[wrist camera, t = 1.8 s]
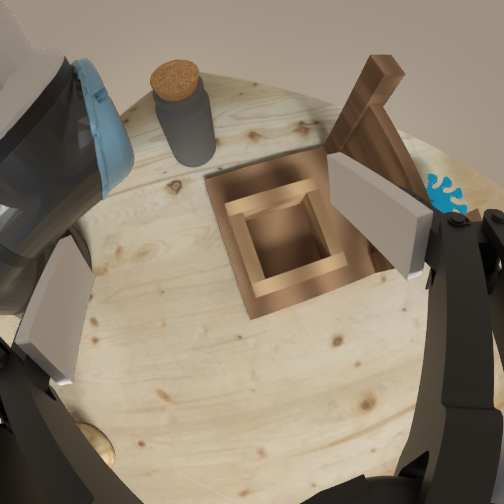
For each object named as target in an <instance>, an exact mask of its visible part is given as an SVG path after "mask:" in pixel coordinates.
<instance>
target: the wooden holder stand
mask: <svg viewBox="0 0 504 504" xmlns="http://www.w3.org/2000/svg"><path fill="white" fill-rule="evenodd" d="M404 75H405V73H404V72H403V70H402V69H401V67H400V66H399V65H398V63H397V62H396V61H395V60H394V58H393V57H392V56H391V55H370V56H369V58H368V60H367V62H366V64H365V66H364V68H363V70H362V72H361V74H360V76H359V78H358V80H357V82H356V84H355V86H354V88H353V90H352V92H351V94H350V96H349V98H348V100H347V102H346V104H345V106H344V108H343V110H342V112H341V114H340V116H339V118H338V119H337V121H336V123H335V125H334V127H333V129H332V131H331V133H330V135H329V137H328V139H327V141H326V143H325V145H324V147H320V148H316V149H312V150H308V151H304V152H300V153H296V154H292V155H288V156H284V157H280V158H276V159H273V160H269V161H265V162H262V163H258V164H254V165H251V166H247V167H244V168H241V169H237V170H234V171H231V172H227V173H224V174H221V175H218V176H214V177H211V178H208V179H205V184H206V187H207V190H208V193H209V196H210V199H211V203H212V206H213V209H214V212H215V215H216V218H217V221H218V224H219V227H220V230H221V234H222V237H223V240H224V243H225V246H226V249H227V252H228V255H229V258H230V261H231V264H232V267H233V270H234V273H235V276H236V279H237V282H238V285H239V288H240V291H241V294H242V297H243V299H244V302H245V305H246V308H247V311H248V314H249V317H250V320H252V319H255V318H258V317H261V316H264V315H267V314H270V313H273V312H276V311H278V310H281V309H284V308H287V307H290V306H292V305H295V304H298V303H300V302H303V301H306V300H309V299H311V298H314V297H316V296H319V295H322V294H324V293H327V292H330V291H332V290H335V289H337V288H340V287H342V286H345V285H347V284H350V283H352V282H355V281H357V280H360V279H362V278H364V277H367V276H369V275H372V274H374V273H377V272H382V271H386V270H390V269H394V268H395V267H394V266H393V265H392V264H391V263H390V262H389V261H388V260H387V259H386V258H385V257H384V255H383V254H382V253H381V252H380V251H379V250H378V249H377V248H376V247H375V246H374V245H373V244H372V243H371V242H370V241H369V240H368V239H367V238H366V237H365V236H364V235H363V234H362V233H361V232H360V231H359V230H358V229H357V228H356V227H355V226H354V225H353V224H352V223H351V222H350V221H349V220H348V219H347V218H346V217H344V216H343V215H342V214H341V213H340V212H339V211H338V210H337V209H336V208H335V207H334V206H333V205H332V204H331V198H330V184H329V173H328V162H327V155H329V154H333V153H338V152H341V153H343V154H345V155H346V156H348V157H350V158H352V159H353V160H355V161H357V162H359V163H360V164H362V165H364V166H365V167H367V168H369V169H370V170H372V171H374V172H375V173H377V174H378V175H380V176H382V177H383V178H385V179H386V180H388V181H389V182H391V183H393V184H394V185H396V186H398V185H399V186H401V187H404V188H407V189H409V190H411V191H412V192H414V193H415V194H417V196H420V197H421V198H423V200H426V201H427V202H429V203H430V204H431V205H432V203H431V200H430V198H429V196H428V193H427V191H426V189H425V186H424V184H423V182H422V180H421V178H420V175H419V173H418V171H417V169H416V167H415V165H414V163H413V161H412V159H411V157H410V155H409V153H408V151H407V149H406V147H405V145H404V143H403V141H402V139H401V138H400V136H399V134H398V132H397V130H396V128H395V127H394V125H393V123H392V121H391V120H390V118H389V117H388V115H387V113H386V111H385V110H384V108H383V106H384V105H385V103H386V102H387V100H388V99H389V97H390V96H391V95H392V93H393V92H394V90H395V88H396V87H397V86H398V84H399V83H400V81H401V80H402V78H403V77H404ZM464 215H465V216H466V217H468V218H469V219H470V220H471V222H477V221H482V218H481V216H480V213H479V210H478V208H477V209H475V210H473V211H470V212H468V213H466V214H464Z"/></svg>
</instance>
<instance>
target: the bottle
mask: <svg viewBox="0 0 504 504" xmlns="http://www.w3.org/2000/svg"><path fill="white" fill-rule="evenodd" d="M150 84H151V87H152V88H153V97H154V100H155V102H156V106H155V109H156V114H157V117H158V119H159V122H160V124H161V126H162V129H163V131H164V133H165V136H166V138H167V140H168V143H169V145H170V147H171V150H172V152H173V154H174V156H175V158H176V159H177V161H178V162H179V163H181V164H182V165H184V166H188V167H197V166H201V165H203V164H205V163H207V162H208V161H209V160H210V159H211V158H212V157H213V155H214V153H215V149H216V143H215V136H214V128H213V122H212V115H211V108H210V102H209V97H208V94H207V92H206V91H205V90H204V86H203V81H202V79H201V77H200V76H199V70H198V68H197V66H196V65H195V64H194V63H192V62H190V61H187V60H174V61H170V62H167V63H165V64H163V65H161V66H160V67H158V68H157V69H156V70H155V71H154V72H153V74H152V76H151V79H150Z"/></svg>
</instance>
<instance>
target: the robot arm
mask: <svg viewBox="0 0 504 504" xmlns="http://www.w3.org/2000/svg"><path fill="white" fill-rule="evenodd" d="M327 162H328V173H329V184H330V198H331V204H332V205H333V206H334V207H335V208H336V209H337V210H338V211H339V212H340V213H341V214H342V215H343V216H344V217H346V218H347V219H348V220H349V221H350V222H351V223H352V224H353V225H354V226H355V227H356V228H357V229H358V230H359V231H360V232H361V233H362V234H363V235H364V236H365V237H366V238H367V239H368V240H369V241H370V242H371V243H372V244H373V245H374V246H375V247H376V248H377V249H378V250H379V251H380V252H381V253H382V254H383V255H384V257H385V258H386V259H387V260H388V261H389V262H390V263H391V264H392V265H393V266H394V267H395V268H396V269H397V270H398V271H399V272H400V274H401V275H402V276H403V277H404V278H405V279H406V280H407V281H408V280H410V279H413V278H415V277H417V276H419V275H421V274H422V272H423V267H424V263H425V262H426V263H427V264H428V265H429V266H430V267H431V269H430V273H429V277H428V281H427V284H426V288H425V289H427V290H428V288H429V298H428V317H427V331H426V341H425V351H424V359H423V367H422V374H421V380H420V386H419V392H418V397H417V403H416V408H415V413H414V417H413V422H412V426H411V430H410V434H409V438H408V440H407V443H406V445H405V447H404V449H403V451H402V453H401V456H400V458H399V461H398V464H397V467H396V471H395V474H394V476H376V477H369V478H365V476H364V474H363V475H360V476H358V477H356V478H354V479H351V480H349V481H346V482H344V483H342V484H339V485H337V486H334V487H331V488H329V489H326V490H323V491H320V492H319V493H317V494H316V495H314V496H312V497H311V498H309V499H307V500H306V501H304V502H302V503H300V504H494V503H490V501H491V497H492V493H493V488H494V484H495V480H496V475H497V469H498V464H499V458H500V451H501V443H502V434H503V416H502V413H501V411H500V410H498V409H496V408H495V407H494V402H493V397H494V353H493V336H492V331H493V334H494V337H495V341H496V344H497V348H498V351H499V355H500V359H501V363H502V367H503V371H504V213H503V212H502V211H500V210H497V209H487V210H486V211H484V216H483V220H482V221H477V222H471V220H470V219H469V218H468V217H466V216H465V215H463V214H460V213H457V212H446V213H443V212H441V211H440V210H439V209H437V208H436V207H434V206H433V205H431V204H430V203H429V202H427V201H426V200H423V198H421V197H420V196H417V194H415V193H414V192H412V191H411V190H409V189H407V188H404V187H401V186H399V185H398V186H396V185H394V184H393V183H391V182H389V181H388V180H386V179H385V178H383V177H382V176H380V175H378V174H377V173H375V172H374V171H372V170H370V169H369V168H367V167H365V166H364V165H362V164H360V163H359V162H357V161H355V160H353V159H352V158H350V157H348V156H346V155H345V154H343V153H341V152H338V153H333V154H329V155H327ZM133 165H134V153H133V148H132V145H131V143H130V140H129V137H128V135H127V132H126V130H125V128H124V125H123V123H122V121H121V119H120V116H119V114H118V112H117V110H116V108H115V106H114V104H113V102H112V100H111V98H110V97H109V96H108V93H107V91H106V89H105V87H104V84H103V81H102V79H101V77H100V76H99V74H98V72H97V70H96V69H95V67H94V65H93V64H92V63H91V62H90V61H89V60H88V59H87V58H83V59H80V60H75V61H74V62H73V63H72V64H71V65H70V64H69V62H68V60H67V59H66V57H65V56H64V54H63V53H62V51H61V50H57V49H37V48H35V47H34V46H33V45H32V43H31V42H30V40H29V39H28V37H27V36H26V34H25V33H24V31H23V29H22V28H21V26H20V24H19V23H18V21H17V20H16V18H15V16H14V15H13V13H12V11H11V10H10V8H9V6H8V5H7V3H6V1H5V0H0V315H14V316H16V317H18V318H20V319H22V320H21V321H20V324H19V327H18V329H17V332H16V335H15V338H14V340H13V343H12V346H11V348H10V347H9V346H8V345H7V343H6V342H5V341H4V340H3V339H2V338H1V337H0V418H1V422H2V423H1V424H0V504H144V503H143V502H142V501H141V500H140V499H139V498H138V497H137V496H136V495H135V494H134V493H133V492H132V491H131V490H130V489H129V488H128V487H127V486H126V485H125V484H124V483H123V482H122V481H121V480H120V479H119V477H118V476H117V475H116V474H115V473H114V472H113V471H112V469H111V468H110V467H109V466H108V465H107V464H106V462H105V461H104V460H103V459H102V458H101V456H100V455H99V454H98V453H97V451H96V450H95V449H94V447H93V446H92V445H91V444H90V442H89V441H88V440H87V438H86V437H85V435H84V434H83V433H82V431H81V430H80V429H79V427H78V426H77V424H76V423H75V421H74V420H73V418H72V417H71V415H70V414H69V412H68V411H67V409H66V408H65V406H64V405H63V403H62V401H61V400H60V398H59V397H58V395H57V393H56V392H55V390H54V389H53V388H52V387H51V386H50V385H49V380H50V377H51V378H52V379H53V380H54V381H55V382H56V383H57V384H58V385H65V384H71V383H73V381H74V374H75V367H76V361H77V355H78V350H79V344H80V339H81V334H82V329H83V324H84V320H85V315H86V311H87V307H88V303H89V298H90V295H91V291H92V287H93V283H94V279H95V276H94V274H93V273H92V271H91V260H90V255H89V251H88V248H87V245H86V243H85V241H84V239H83V237H82V236H81V234H80V233H79V232H78V231H77V230H76V229H75V228H74V227H73V226H71V225H72V224H74V223H75V222H76V221H77V220H78V219H79V218H80V217H82V216H83V215H84V214H85V213H86V212H87V211H89V210H90V209H91V208H92V207H93V206H95V205H96V204H97V203H98V202H99V201H101V200H104V199H105V198H106V197H107V195H108V193H109V192H110V191H111V190H112V189H113V188H114V187H115V186H116V185H118V184H119V183H120V182H121V181H122V180H123V179H125V178H126V177H127V176H128V175H129V173H130V171H131V169H132V167H133ZM500 260H501V264H502V268H501V269H500V267H499V263H500Z"/></svg>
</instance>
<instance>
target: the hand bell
mask: <svg viewBox="0 0 504 504" xmlns="http://www.w3.org/2000/svg"><path fill="white" fill-rule="evenodd" d="M77 426H78V427H79V429H80V430H81V431H82V433H83V434H84V435H85V437H86V438H87V440H88V441H89V442H90V444H91V445H92V446H93V447H94V449H95V450H96V451H97V453H98V454H99V455H100V456H101V458H102V459H103V460H104V461H105V462H106V464H107V465H108V466H109V467H110V468H111V467H112V466H113V464H114V462H115V453H114V450H113V448H112V445H111V444H110V442H109V441H108V439H107V438H106V437H105V436H104V435H103V434H102V433H101V432H100V431H98V430H97V429H96V428H94V427H92V426H90V425H87V424H83V423H77Z"/></svg>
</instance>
